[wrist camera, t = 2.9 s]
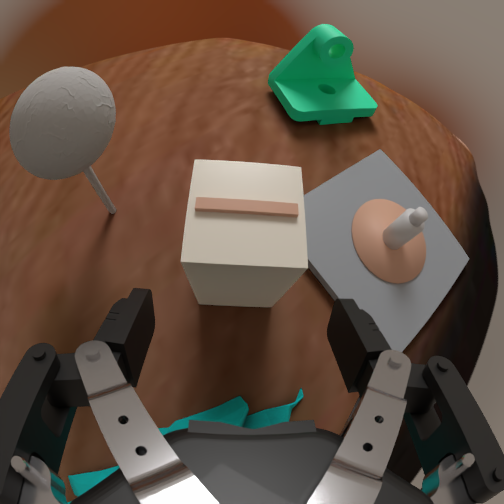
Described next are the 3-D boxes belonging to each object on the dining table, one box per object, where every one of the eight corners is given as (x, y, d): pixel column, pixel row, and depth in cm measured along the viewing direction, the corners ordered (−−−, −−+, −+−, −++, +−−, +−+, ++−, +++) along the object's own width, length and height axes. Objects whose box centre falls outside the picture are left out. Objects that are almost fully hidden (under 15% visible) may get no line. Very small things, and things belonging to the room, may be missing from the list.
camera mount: (291, 129, 29) (313, 53, 20) (266, 89, 32) (279, 21, 22) (372, 121, 32) (405, 62, 22) (343, 86, 34) (366, 29, 25)
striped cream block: (198, 304, 21) (179, 259, 12) (204, 236, 23) (194, 155, 14) (271, 307, 22) (310, 266, 12) (271, 240, 24) (302, 163, 14)
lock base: (270, 220, 25) (284, 179, 19) (376, 154, 29) (400, 118, 23) (383, 365, 21) (428, 363, 15) (463, 261, 26) (500, 240, 20)
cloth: (90, 543, 12) (82, 552, 9) (26, 429, 16) (12, 432, 14) (345, 484, 17) (355, 494, 15) (288, 356, 21) (296, 355, 19)
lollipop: (88, 181, 24) (25, 63, 10) (153, 176, 25) (116, 35, 11) (73, 248, 22) (-28, 141, 8) (145, 246, 23) (71, 109, 9)
